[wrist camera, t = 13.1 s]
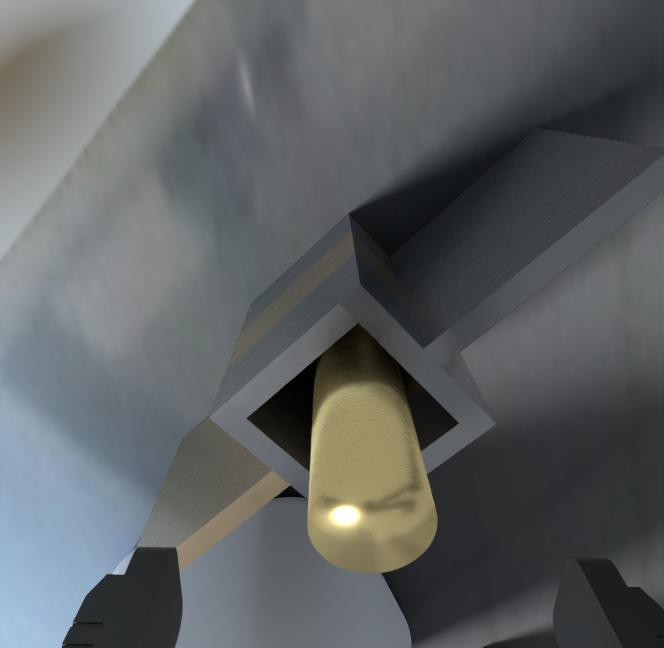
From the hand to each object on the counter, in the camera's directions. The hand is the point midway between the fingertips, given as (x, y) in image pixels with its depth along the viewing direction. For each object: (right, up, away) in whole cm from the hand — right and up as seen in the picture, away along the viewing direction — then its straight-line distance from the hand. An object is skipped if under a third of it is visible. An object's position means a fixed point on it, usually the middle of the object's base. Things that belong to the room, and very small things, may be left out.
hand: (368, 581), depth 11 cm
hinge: (0, +6, +14) cm, 15 cm away
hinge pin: (0, +6, +14) cm, 16 cm away
